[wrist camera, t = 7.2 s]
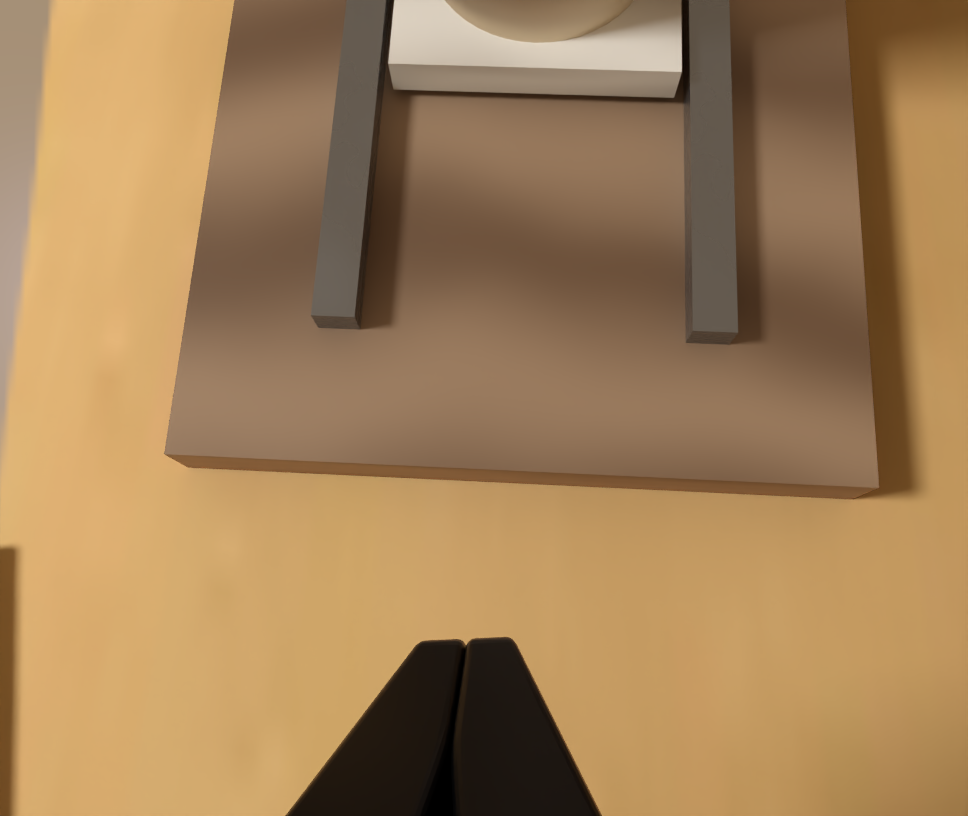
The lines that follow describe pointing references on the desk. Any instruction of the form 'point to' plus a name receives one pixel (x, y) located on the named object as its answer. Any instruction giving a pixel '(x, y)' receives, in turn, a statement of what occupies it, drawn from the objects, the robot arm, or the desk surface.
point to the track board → (533, 278)
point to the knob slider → (538, 46)
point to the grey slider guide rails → (704, 171)
